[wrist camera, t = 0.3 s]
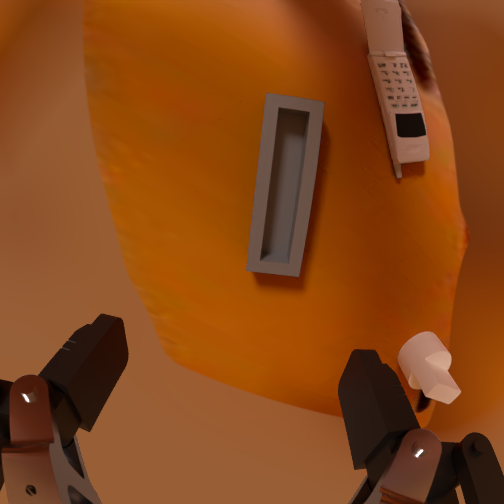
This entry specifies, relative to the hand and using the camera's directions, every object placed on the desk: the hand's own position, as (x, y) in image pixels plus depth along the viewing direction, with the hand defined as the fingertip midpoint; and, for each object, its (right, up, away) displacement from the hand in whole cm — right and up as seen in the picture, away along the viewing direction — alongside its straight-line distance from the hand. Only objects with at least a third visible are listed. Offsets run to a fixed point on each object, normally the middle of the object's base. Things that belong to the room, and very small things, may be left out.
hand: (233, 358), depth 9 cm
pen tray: (+5, +12, +25) cm, 28 cm away
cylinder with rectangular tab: (+32, -15, +34) cm, 48 cm away
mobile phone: (+19, +26, +20) cm, 38 cm away
